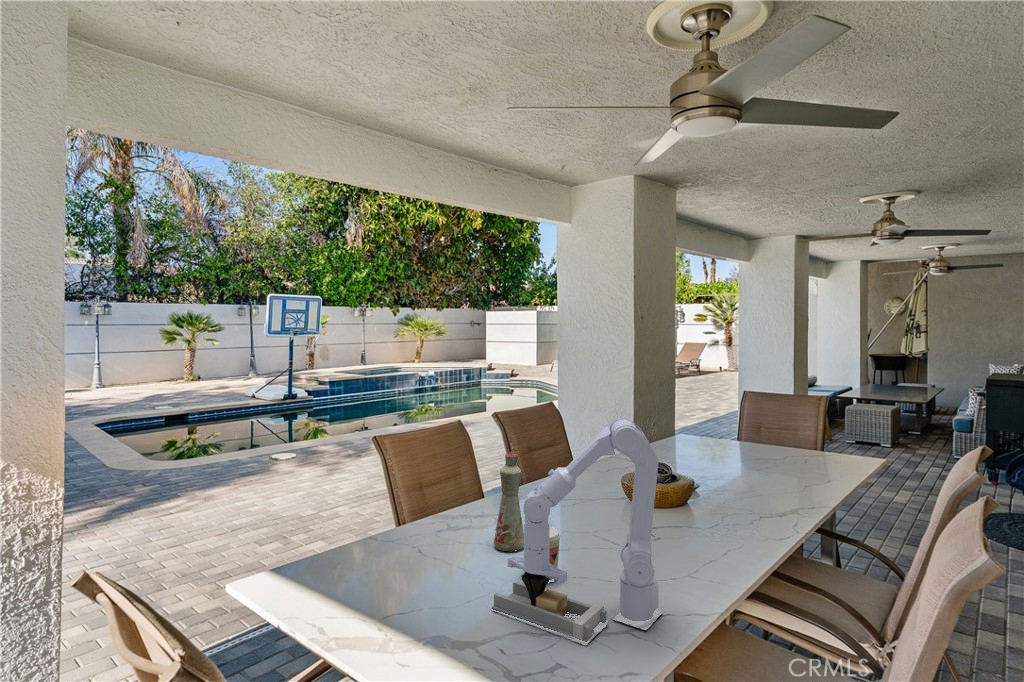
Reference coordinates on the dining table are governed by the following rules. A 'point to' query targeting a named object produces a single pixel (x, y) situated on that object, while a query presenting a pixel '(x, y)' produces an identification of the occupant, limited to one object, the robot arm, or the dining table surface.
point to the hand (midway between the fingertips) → (536, 605)
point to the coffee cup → (553, 546)
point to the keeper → (552, 602)
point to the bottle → (509, 508)
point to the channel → (522, 609)
